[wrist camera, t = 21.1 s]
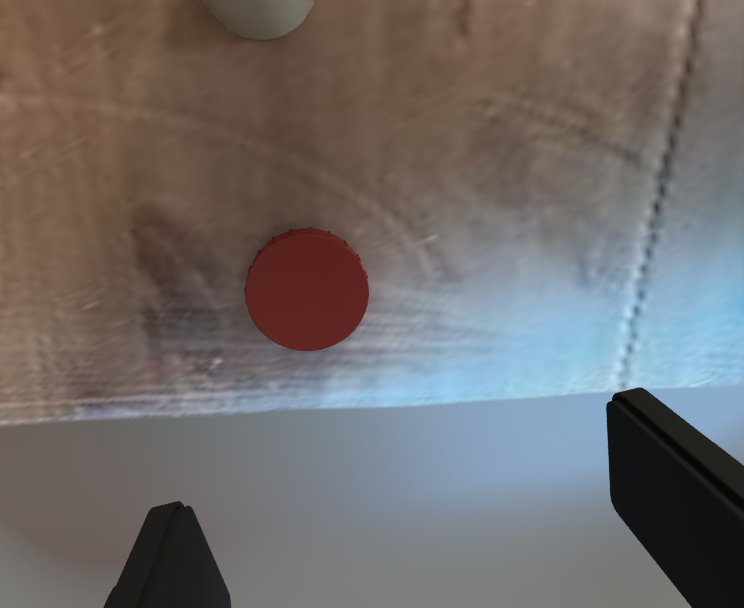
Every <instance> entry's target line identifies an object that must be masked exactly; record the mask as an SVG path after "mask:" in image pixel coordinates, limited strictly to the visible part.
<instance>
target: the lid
mask: <svg viewBox="0 0 744 608" xmlns="http://www.w3.org/2000/svg"><path fill="white" fill-rule="evenodd" d="M248 273H249V274H248V277H247V281H246V287H245V296H246V304H247V308H248V311H249V314H250V316H251V318H252V320H253V322H254V323H255V325H256V326H257V327H258V329H259V330H260V331H261V332H262V333H263V334H264V335H265V336H267V337H268V338H269V339H270V340H272V341H274V342H275V343H277V344H279V345H281V346H284V347H287V348H290V349H294V350H301V351H314V350H320V349H324V348H328V347H330V346H333V345H335V344H337V343H339V342H340V341H342V340H344V339H345V338H346V337H348V336H349V335H350V334H351V333H352V332H353V331H354V330H355V329H356V327H357V326H358V325H359V323H360V322H361V320H362V318H363V316H364V314H365V311H366V308H367V305H368V298H369V287H368V281H367V278H368V276H367V274H366V272H365V270H364V269H363V267H362V264H361V262H360V258H359V256H358V254H357V255H356V253H355V252H354V251H353V250H352V248H351V247H350V246H349V245H348V244H347V242H346V241H343V240H341V239H340V238H338V237H337V236H335V235H333V234H331V233H330V232H329V231H328V232H325V231H322V230H317V229H311V227H309V229H297V230H292V229H290V231H288V232H285V233H283V234H281V235H279V236H277V237H272V240H271V241H269V242H268V243H267V244H266V245H265V246H264V247H263V248H262V249H261V250H260V249H259V250H258V253H257V256H256V258H255V260H254V261H253V264H252V266H251V265H250V267H249V270H248Z"/></svg>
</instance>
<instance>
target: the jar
mask: <svg viewBox="0 0 744 608" xmlns="http://www.w3.org/2000/svg"><path fill="white" fill-rule="evenodd" d="M200 2H201V3H202V4H203V6H204V7H205V8H206V10H207V11H208V12H209V13H210V15H211V16H212V17H213V18H214V19H215V20H216V21H217V22H218V23H219V24H221V25H222V26H223V27H224V28H226V29H227V30H229V31H231V32H232V33H234V34H237V35H239V36H241V37H244V38H248V39H253V40H270V39H275V38H279V37H282V36H284V35H286V34H288V33H290V32H291V31H293V30H294V29H296V28H297V27H298V26H299V25H300V24H301V23H302V22H303V21H304V19H305V18H306V17H307V15H308V14H309V12H310V11H311V9H312V7H313V4H314V2H315V0H200Z"/></svg>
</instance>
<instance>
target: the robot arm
mask: <svg viewBox="0 0 744 608" xmlns="http://www.w3.org/2000/svg"><path fill="white" fill-rule="evenodd" d="M606 412H607V432H608V455H609V475H610V496H611V501H612V504H613V506H614V508H615V510H616V512H617V513H618V515H619V516H620V517H621V518H622V520H623V521H624V522H625V524H626V525H627V526H628V527H629V529H630V530H631V531H632V532H633V534H634V535H635V536H636V537H637V538H638V540H639V541H640V542H641V544H642V545H643V546H644V547H645V549H646V550H647V551H648V553H649V554H650V555H651V556H652V558H653V559H654V560H655V561H656V563H657V564H658V565H659V566H660V568H661V569H662V570H663V572H664V573H665V574H666V575H667V577H668V578H669V579H670V580H671V582H672V583H673V584H674V585H675V587H676V588H677V589H678V590H679V592H680V593H681V594H682V595H683V597H684V598H685V599H686V601H687V602H688V603H689V604H690V605H691V607H692V608H744V466H743V465H742V464H741V463H739V462H738V461H737V460H736V459H734V458H733V457H732V456H731V455H729V454H728V453H727V452H725V451H724V450H723V449H722V448H720V447H719V446H718V445H716V444H715V443H714V442H712V441H711V440H709V439H708V438H707V437H705V436H704V435H703V434H702V433H700V432H699V431H698V430H697V429H695V428H694V427H693V426H691V425H690V424H689V423H687V422H686V421H685V420H684V419H682V418H681V417H680V416H679V415H677V414H676V413H674V412H673V411H672V410H671V409H670V408H668V407H667V406H666V405H665V404H663V403H662V402H661V401H659V400H658V399H657V398H655V397H654V396H653V395H651V394H650V393H649V392H648V391H647V390H645V389H643V388H635V389H631V390H627V391H623V392H619V393H615V394H614V395H613V397H612V401H610V402H608V403H607V406H606ZM104 608H231V600H230V595H229V592H228V590H227V587H226V585H225V583H224V580H223V578H222V576H221V573H220V571H219V569H218V566H217V564H216V562H215V559H214V557H213V555H212V552H211V550H210V548H209V546H208V543H207V541H206V539H205V536H204V534H203V532H202V529H201V527H200V525H199V522H198V520H197V518H196V515H195V513H194V511H193V509H192V508H191V507H190V506H186V507H184V505H183V504H182V503H181V502H179V501H177V502H173V503H169V504H165V505H161V506H157V507H153V508H152V509H150V511H149V512H148V514H147V517H146V519H145V521H144V524H143V526H142V528H141V530H140V533H139V535H138V537H137V539H136V542H135V544H134V546H133V549H132V551H131V553H130V556H129V558H128V560H127V562H126V564H125V567H124V569H123V571H122V574H121V576H120V578H119V580H118V583H117V585H116V586H115V587H114V588H113V590H112V591H111V593H110V595H109V596H108V599H107V601H106V603H105V605H104Z"/></svg>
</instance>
